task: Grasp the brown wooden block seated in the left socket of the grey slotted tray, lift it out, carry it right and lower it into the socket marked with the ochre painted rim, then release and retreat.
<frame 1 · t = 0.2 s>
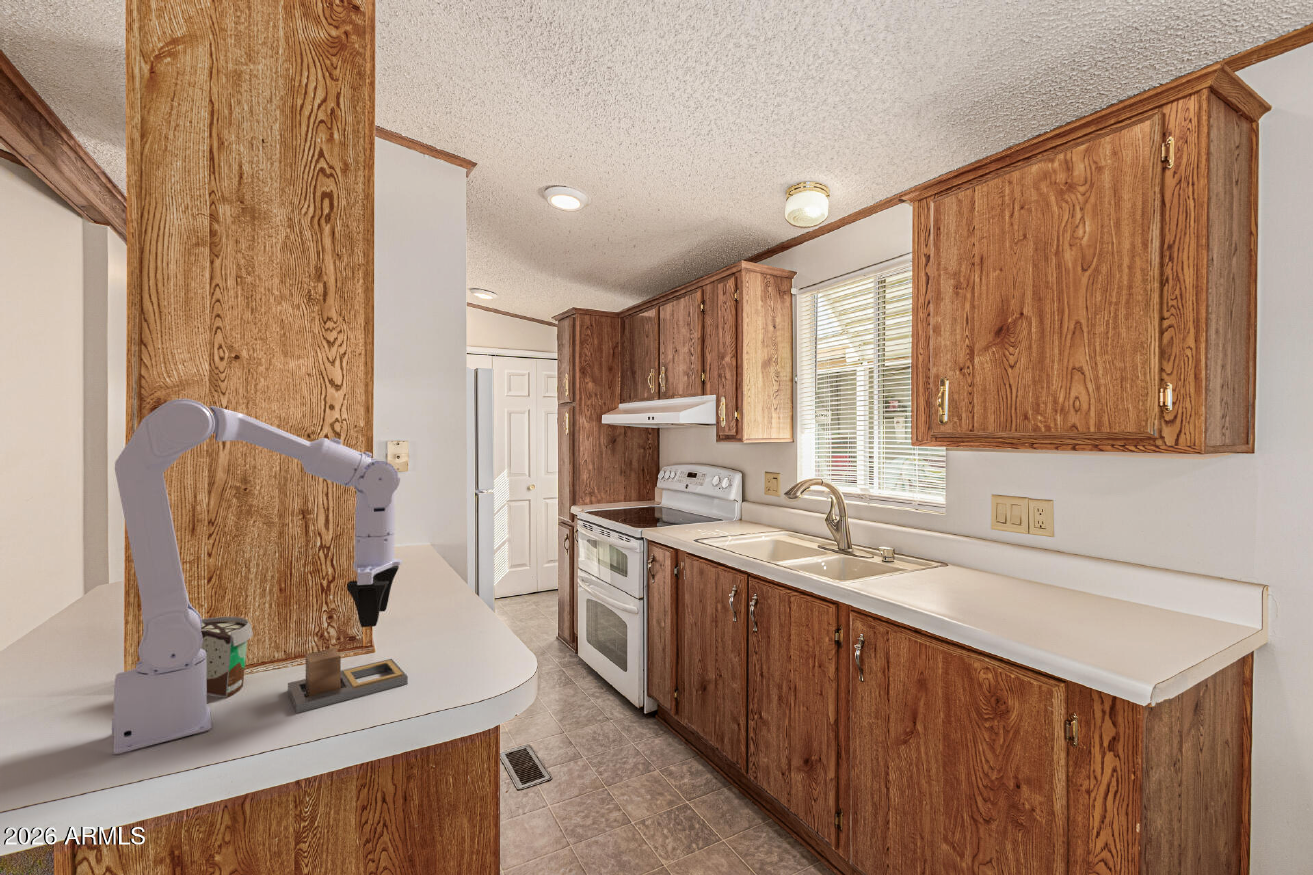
hand: (374, 618, 92), 10 cm above the counter, fingers open, 7 cm apart
grey slotted tray: (348, 687, 89), on the counter
food container: (223, 686, 90), on the counter
brown wooden block: (323, 694, 87), resting in grey slotted tray
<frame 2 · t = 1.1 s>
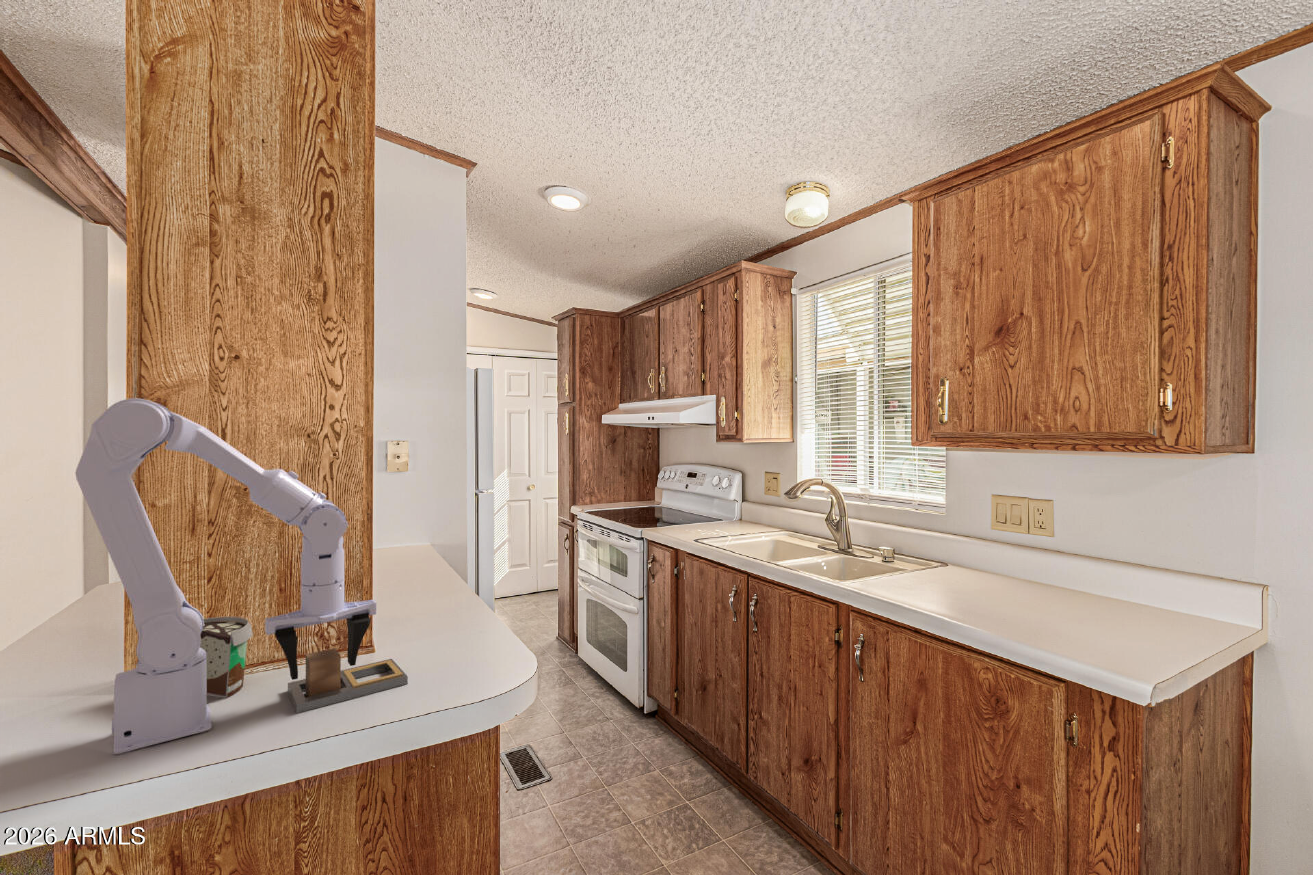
hand: (323, 670, 87), 4 cm above the counter, fingers open, 7 cm apart
nothing on the counter moved.
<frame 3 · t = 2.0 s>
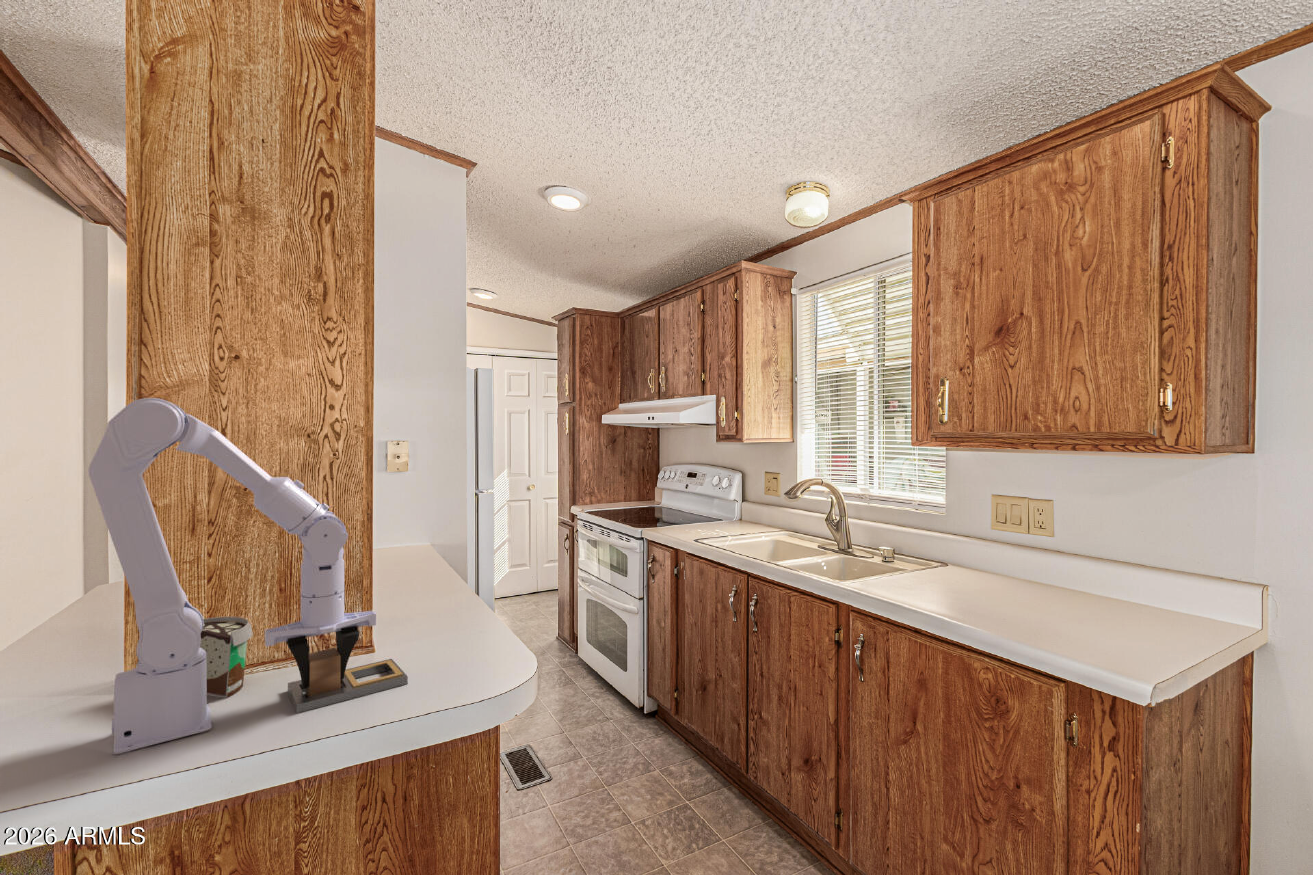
hand: (322, 681, 87), 2 cm above the counter, fingers closed on brown wooden block, 4 cm apart
brown wooden block: (323, 693, 87), resting in grey slotted tray, touching gripper
everything else where it was.
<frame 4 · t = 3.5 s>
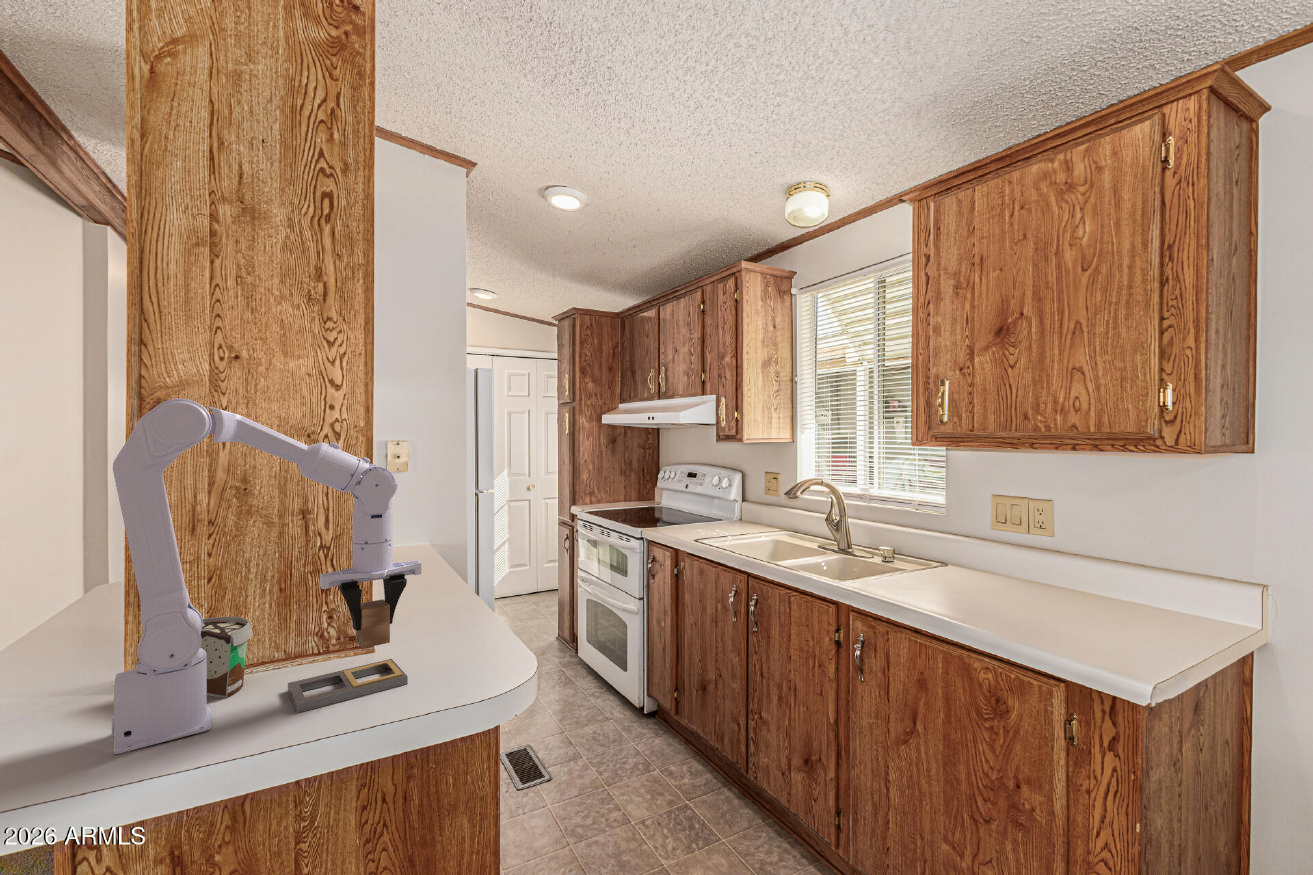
hand: (372, 625, 91), 9 cm above the counter, fingers closed on brown wooden block, 4 cm apart
brown wooden block: (373, 641, 91), point 6 cm above the counter, touching gripper
everything else where it was.
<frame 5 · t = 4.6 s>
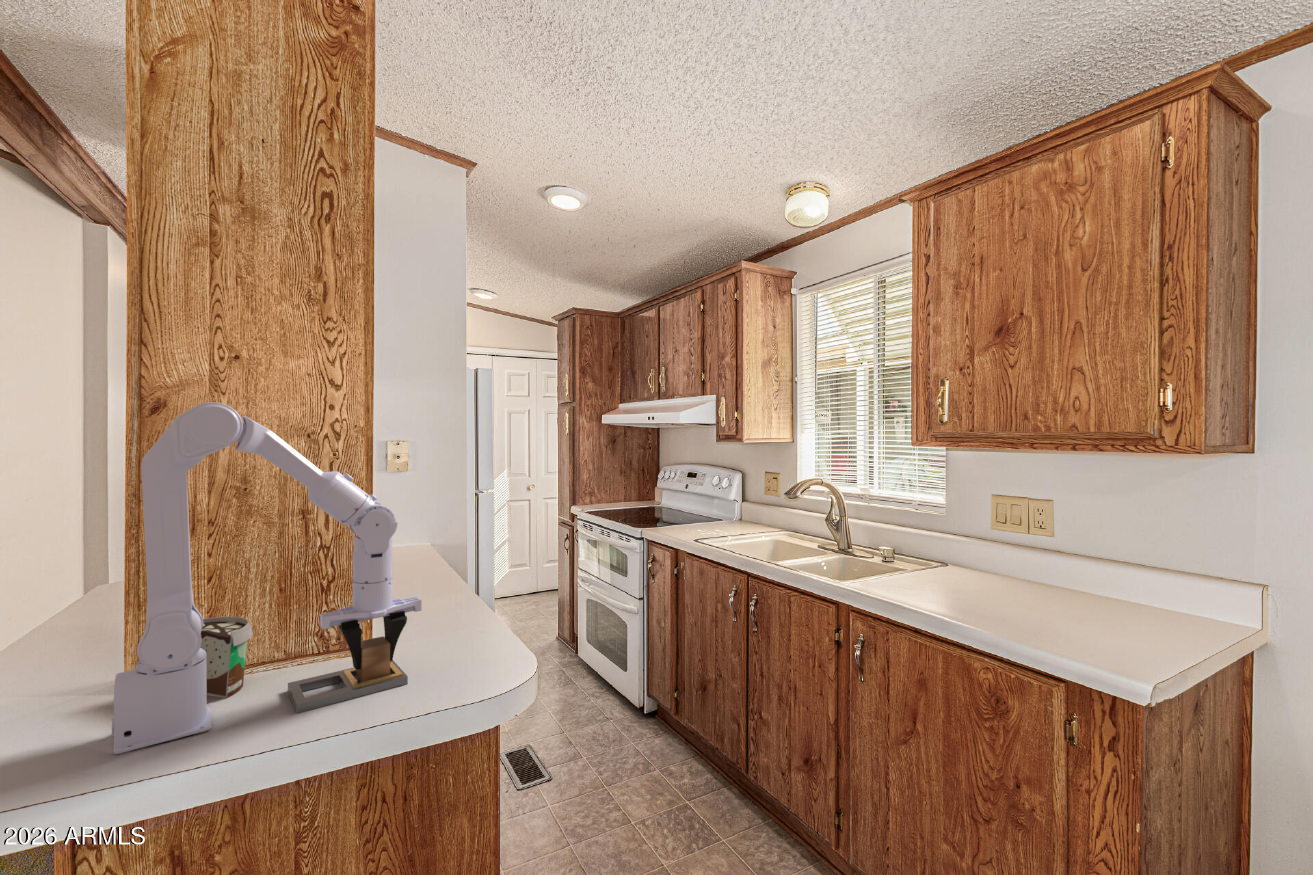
hand: (373, 663, 91), 3 cm above the counter, fingers closed on brown wooden block, 4 cm apart
brown wooden block: (373, 679, 91), resting in grey slotted tray, touching gripper
everything else where it was.
when the fingers open (2 cm above the counter, at t = 5.1 s): brown wooden block stays where it is, resting in grey slotted tray.
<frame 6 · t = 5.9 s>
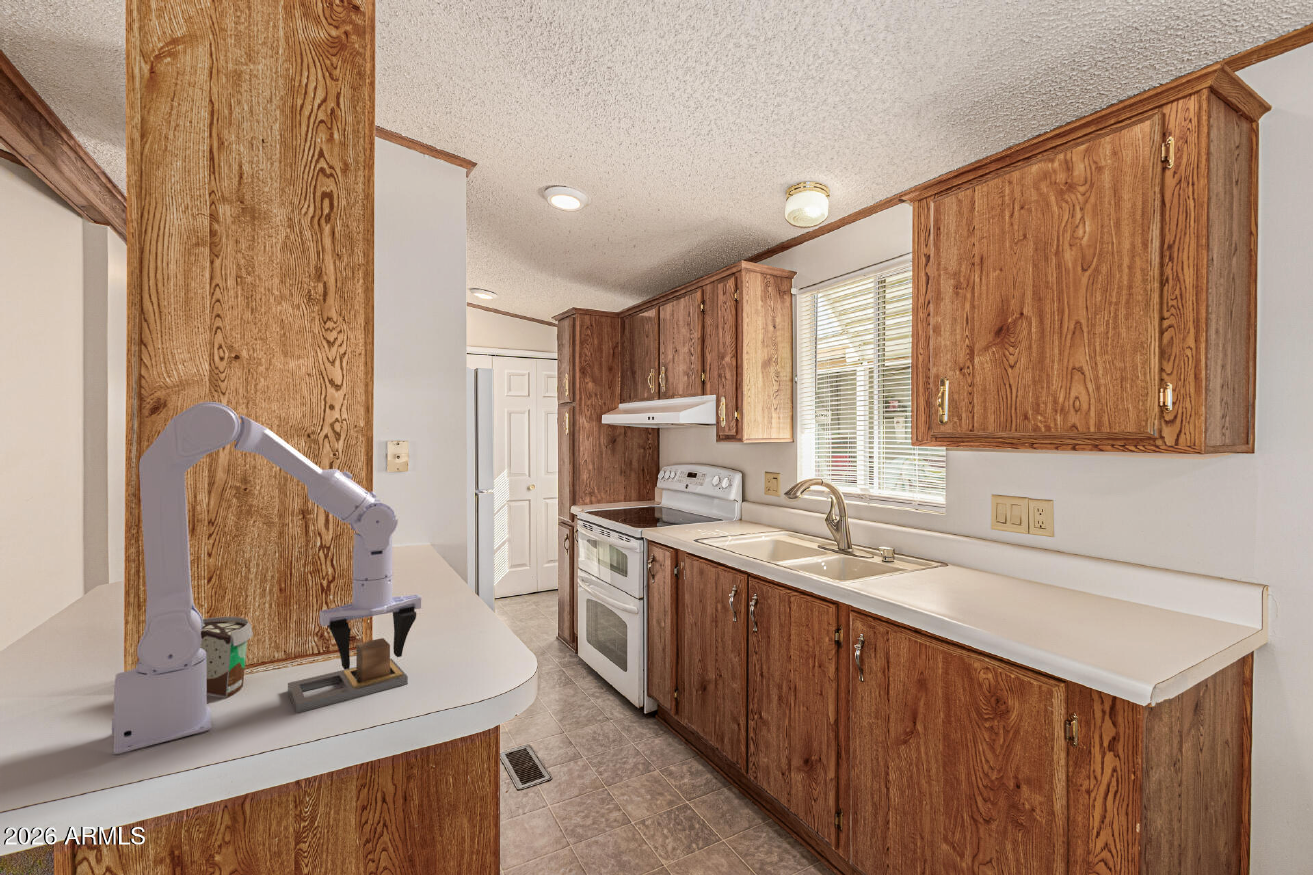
hand: (372, 660, 91), 3 cm above the counter, fingers open, 7 cm apart
brown wooden block: (373, 681, 91), resting in grey slotted tray
everything else where it was.
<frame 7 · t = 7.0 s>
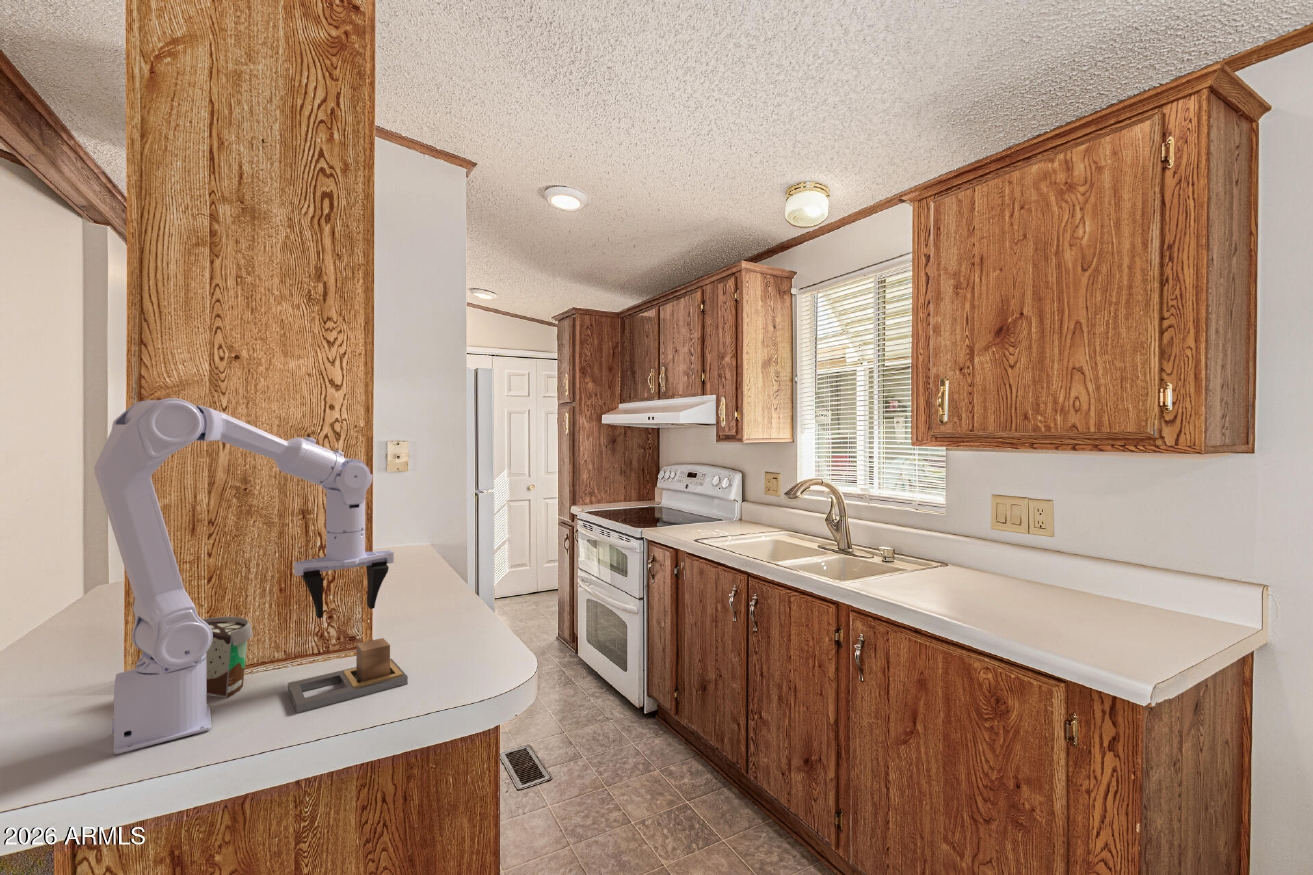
hand: (345, 611, 95), 10 cm above the counter, fingers open, 7 cm apart
nothing on the counter moved.
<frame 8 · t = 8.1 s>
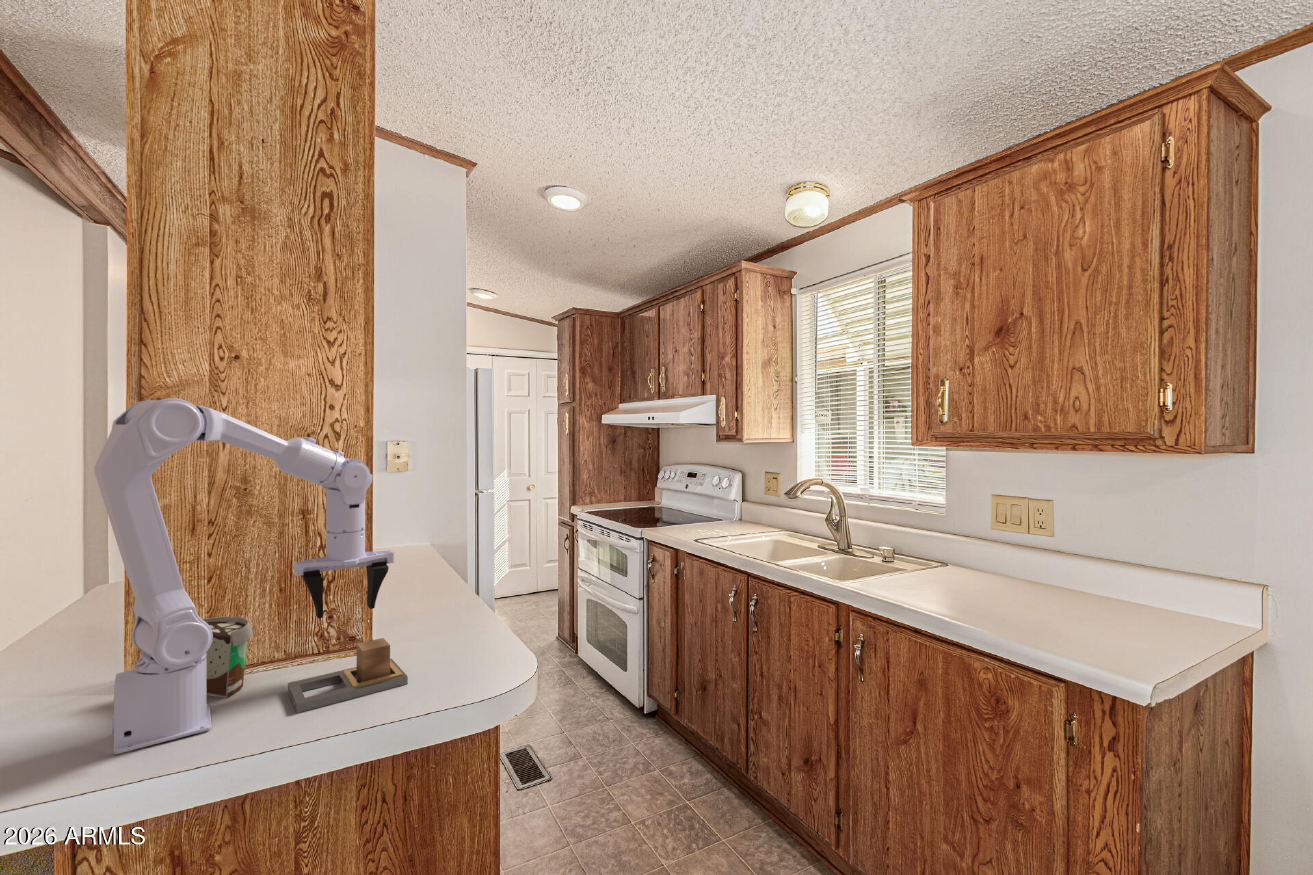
hand: (345, 611, 95), 10 cm above the counter, fingers open, 7 cm apart
nothing on the counter moved.
at the end: brown wooden block 0.1 cm from the target spot on the grey slotted tray, point 0.0 cm above the grey slotted tray's base; brown wooden block tilted 0°; the gripper is holding nothing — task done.
